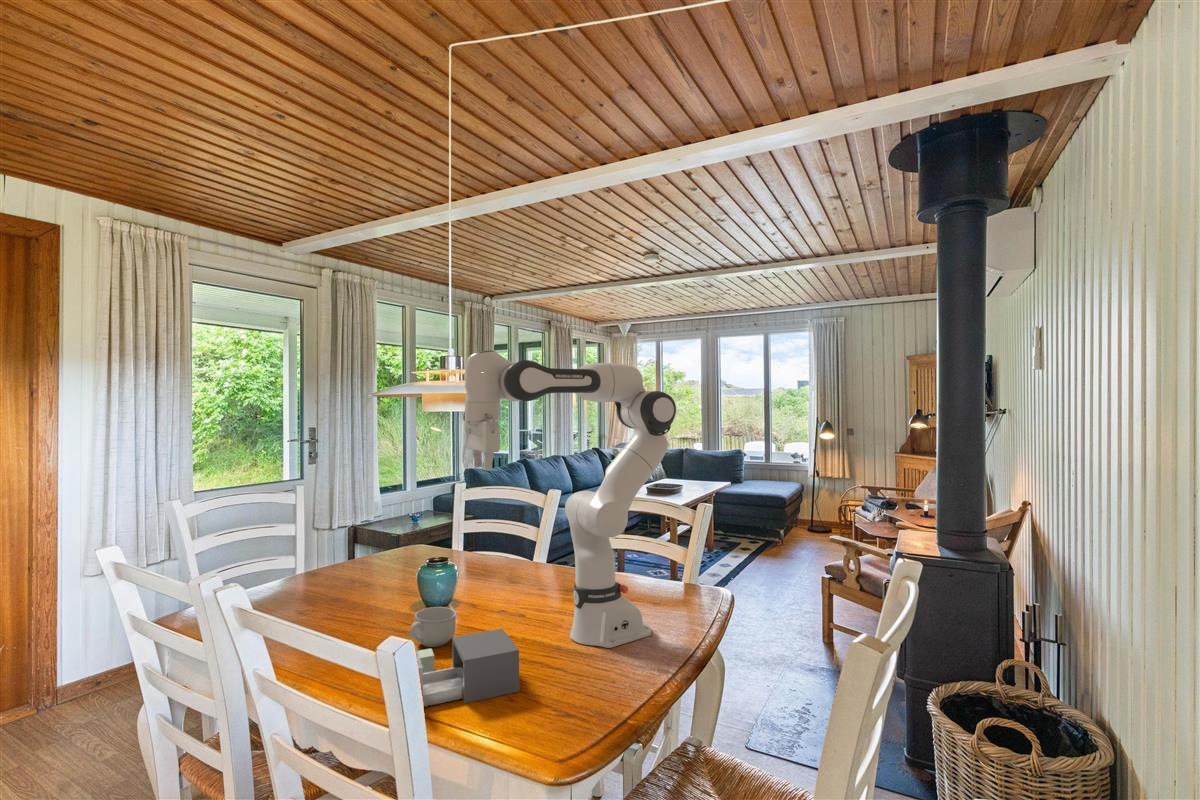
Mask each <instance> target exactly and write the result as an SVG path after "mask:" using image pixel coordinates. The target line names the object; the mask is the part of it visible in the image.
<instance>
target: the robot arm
mask: <svg viewBox="0 0 1200 800" xmlns="http://www.w3.org/2000/svg"><path fill="white" fill-rule="evenodd" d="M464 370H465V372H464V387H465V391H466V395H465V400H464V412H463V413H462V421H463V422H465V424H464V425H465V426H464V427H465V429H464V430H465V442H466V443H465V444H466V448H468V449H469V450H472V458H473V466H474V468H482V466H483V470H484V471H492V469H493V461H494V458H495V455H494V454H495V453H498V452H500V449H501V437H500V435H501V433H500V424H499V422H498V421H501V400H506V401H510V402H530V401H531V402H532V401H535V400H538V399H539V398H541V397H544V396H545V395H549V394H575V395H576V394H577V395H578V396H579V397H580V398H581V400H584V401H589V402H594V403H595V402H596V403H614V404H615V409H616V416H617V419H618V421H619V422H620V423H621V424H622V425H623V426H625V427H626V428H629V429H633V434H632V436H631V438H630V440H629V441H628V442H627V443H626V444H625V445H624V447H623V448H621V450H620V451H619V452H618V454H617V455H616V456H615V458H614V459H613V460H612V461H611V462H610V463H609V465H607V467H606V468H605V471H604V473H605V475H604V478H603V481H602V482H601V484H600V486H599V487H598V489H597V490H596V491H592V490H581V491H577V492H574V493H572V494H571V495H570V496H569V497H568V498H567V500H566V501H565V503H564V504H565V505H564V512H565V516H566V518H567V520H568V524H569V529H570V530H569V531H570V536H571V539H572V540H571V541H572V544H573V545H572V546H573V552H574V567H575V575H574V576H575V577H574V578H575V581H574V584H573V603H574V612H573V620H572V626H571V629H570V633H569V637H570V639H571V640H572V641H573V642H576V643H578V644H581V645H587V646H595V647H596V646H597V647H602V648H605V649H606V648H607V649H611V648H614V647H618V646H620V645H624V644H627V643H630V642H633V641H637V640H640V639H643V638H646V637H649V636H651V635H652V630H651V629H652V628H651V627H650V626H649V625H648V624H647V623H646V622H645V621H644V619H643V615H642V612H641V610H640V609H639V607H638V606H637V605H636V604H634V603H633V602H632V601H631V600H629V599H628V598H626V597H625V596H623V594H627V593H628V592H629V587H628V586H626V585H625V584H621V583H619V582H617V581H616V554H615V552H614V549H613V547H612V544H611V540H610V539H611V538H616V537H617V536H620V535H621V534H623V532H624V531H625V529H626V527H627V525H628V522H629V521H628V520H629V518H628V517H629V515H628V514H629V510H630V508H631V506H632V504H633V502H634V499H635V498H636V496H637V494H638V493H639V491H640V490H641V488H643V486H644V485H645V483H646V482H647V481H648V479H650V477H651V476H652V474H653V473H654V472H655V471H656V470H657V468H658V466H659V465H660V464H661V462H662V461H663V459H664V457H665V455H666V454H667V451H668V449H669V441H668V439H667V437H666V434H667V433H668V432H669V431H670V429H671V427H672V424H673V422H674V420H675V417H676V414H677V405H676V402H675V400H674V398H673V397H672V396H671V395H669V394H668V393H666V392H664V391H659V390H654V391H653V390H646V389H645V388H644V379H643V375H642V372H641V371H640V370H639V369H638V368H637V367H635V366H632V365H627V364H623V363H615V362H595V363H589V364H584V365H582V366H580V367H579V368H578V367H577V368H553V367H552V368H551V367H547V366H544V365H542V364H541V363H538V362H536V361H533V360H529V359H528V360H527V359H525V360H524V359H523V360H519V361H517V362H513V361H511V360H509V359H507V358H505V357H503V356H502V355H501V354H499V353H498V352H497V351H496V350H491V349H490V350H482V351H478V352H474V353H472V354H471V355H469V356H468V357H467V358H466V363H465V369H464ZM481 372H484V373H481ZM482 452H483V457H484V458H483V459H484V460H483V459H482Z"/></svg>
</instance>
